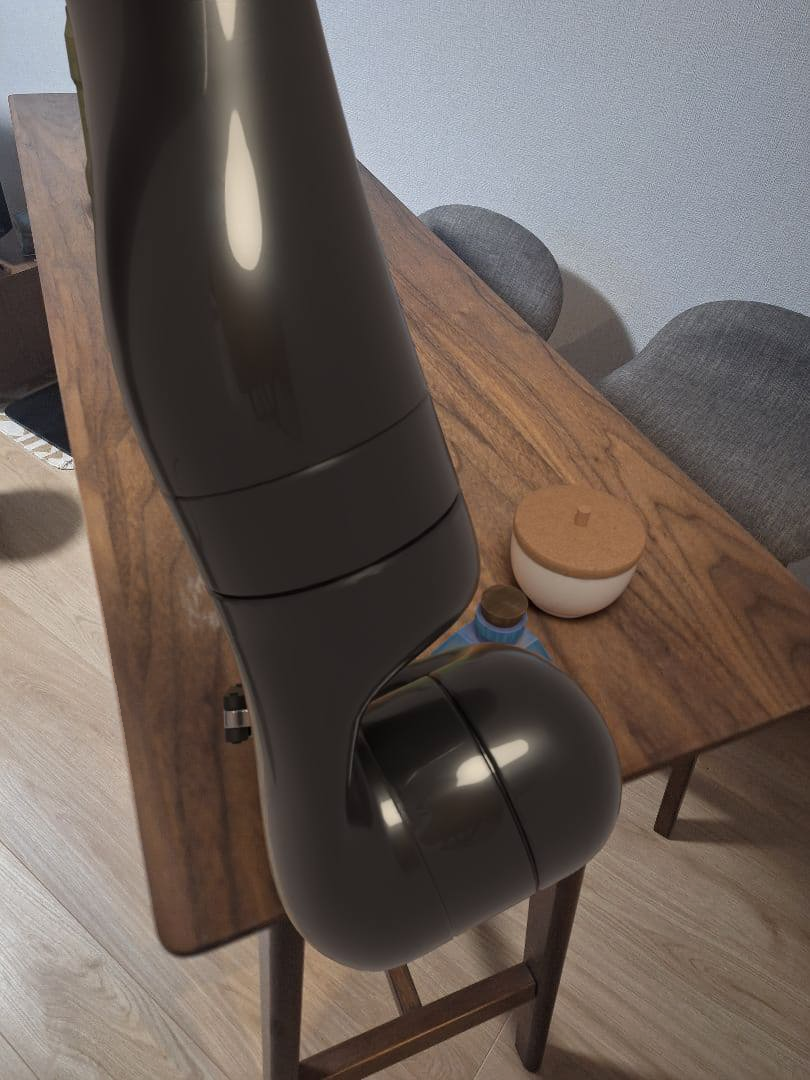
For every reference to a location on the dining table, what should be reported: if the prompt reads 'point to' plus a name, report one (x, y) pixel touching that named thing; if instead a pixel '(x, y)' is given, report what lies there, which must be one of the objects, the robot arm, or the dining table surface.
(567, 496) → the trinket box
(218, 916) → the dining table surface
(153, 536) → the dining table surface
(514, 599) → the perfume bottle
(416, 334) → the dining table surface
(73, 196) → the dining table surface
